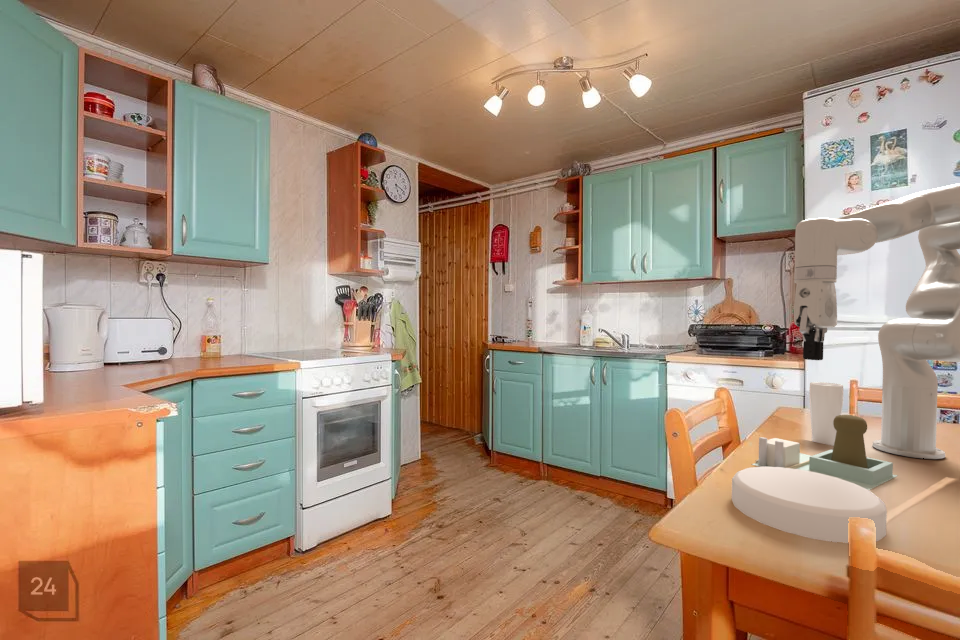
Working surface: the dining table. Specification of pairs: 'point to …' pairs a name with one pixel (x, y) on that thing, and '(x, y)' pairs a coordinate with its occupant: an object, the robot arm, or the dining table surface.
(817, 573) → the dining table surface
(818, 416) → the drinking glass
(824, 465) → the base
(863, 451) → the olive tapered round-topped piece
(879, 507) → the container
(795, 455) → the block
